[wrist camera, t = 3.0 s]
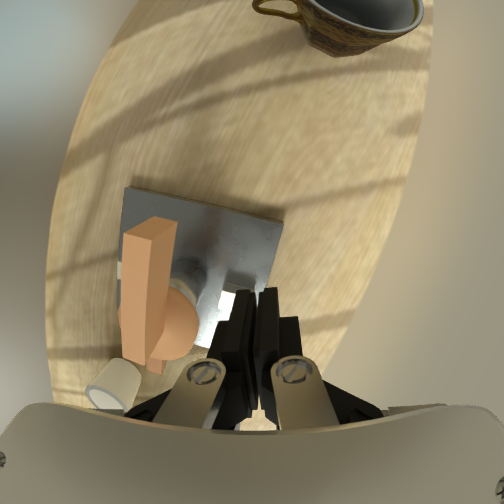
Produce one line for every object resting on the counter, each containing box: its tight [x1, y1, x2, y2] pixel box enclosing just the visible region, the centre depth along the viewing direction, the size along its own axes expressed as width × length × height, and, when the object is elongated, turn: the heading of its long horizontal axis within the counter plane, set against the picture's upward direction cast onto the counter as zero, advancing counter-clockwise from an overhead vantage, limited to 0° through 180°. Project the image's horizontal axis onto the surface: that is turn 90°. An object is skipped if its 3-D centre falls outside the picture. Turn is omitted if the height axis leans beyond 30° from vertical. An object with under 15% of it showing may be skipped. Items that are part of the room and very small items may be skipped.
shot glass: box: [85, 358, 142, 412], centre depth 31 cm, size 7×7×7 cm
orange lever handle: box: [118, 216, 199, 375], centre depth 17 cm, size 14×6×6 cm, turn 166°
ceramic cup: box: [252, 0, 424, 58], centre depth 15 cm, size 13×10×10 cm
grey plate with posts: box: [117, 186, 284, 348], centre depth 25 cm, size 16×16×8 cm
